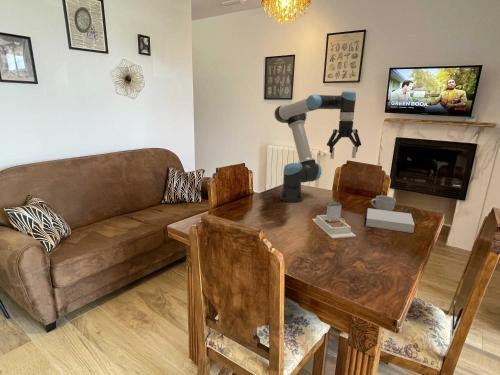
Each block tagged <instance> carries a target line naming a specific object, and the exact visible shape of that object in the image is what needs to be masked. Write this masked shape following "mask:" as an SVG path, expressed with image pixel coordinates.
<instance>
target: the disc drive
mask: <svg viewBox="0 0 500 375" xmlns="http://www.w3.org/2000/svg"><path fill="white" fill-rule="evenodd" d="M364 227H370V228H371V227H372V228H375V229H382V230H383V229H385V230H391V231H397V232H398V231H399V232H404V233H411V234H414V230H415V222H414V219H413V216H412V213H408V212H400V211H394V210H392V211H386V210H378V209H377V208H369V207H366V209H365V217H364Z"/></svg>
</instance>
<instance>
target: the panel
mask: <svg viewBox="0 0 500 375" xmlns="http://www.w3.org/2000/svg"><path fill="white" fill-rule="evenodd" d="M326 205H327V206H326V215H327V216H326V222H327V223H338V222H340V218H341V214H342V206H343V205H342V203H340V202H339V201H338V202H327V204H326Z"/></svg>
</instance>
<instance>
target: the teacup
mask: <svg viewBox="0 0 500 375" xmlns="http://www.w3.org/2000/svg"><path fill="white" fill-rule="evenodd" d="M374 201H375V203H374ZM396 201H397V200H396V198H395V197H392V196H388V195H381V194H380V195H376V196H375V198H372V199H371V200H370V204H371V205H372V207H374V209H378V210H386V211H394V209H395V206H396V205H395V204H396Z"/></svg>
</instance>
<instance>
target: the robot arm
mask: <svg viewBox="0 0 500 375" xmlns="http://www.w3.org/2000/svg"><path fill="white" fill-rule="evenodd" d="M356 101H357V92H356V91H353V90H352V91H351V90H344V91H342V92H341V94H339V95H330V94H329V95H328V94H327V95H325V94H324V95H323V94H310V95H308V97H307V98H304V99H301V100H299V101H296V102H292V103H290V104H282V105H279V106H277V107H276V108H275V109H274V112H273V113H274V118H275V120H276V121H277V122H279V123H281V124H287V126H288V128H290V129H291V133H292V136H293V140H294V144H295V145H294V146H295V148H296V151H297V156H298V160H299V162H291V163H290V162H289V163H288V164H285V166H284V167H283V172H282V173H283V182H282V189H281V192H280V195H279V199H280V200H281V201H282V200H283V202H286V201H287V203H300V202H302V201H304V194H303V191H302V183H309V182H314V181H317V180H319V179H320V177H321V176H322V167H321V165H320V164H319V163H317V161H316V159H315V158H313V157H312V155H313V154H312V152H311V149H310V144H309V140H308V137H307V132H306V128H305V123H306V120H307V116H308V114H307V113H309V112H312V111H316V110H339V111H340V112H339V122H338V129H336V128H334V129H333V130H332V134H331V135H330V137H329V140H328V141H327V142H326V146H327V147H329V153H330V156H329V157H330V159H332V160H334V158H335V147H334V146H335V145H336V144H337V143H338V142H339V141H340V140H341V139H342V138H349V140H350V142H351V143H352V145H353V146H352V151H351V152H352V154H351V158H352V159H356V158H357V157H356V155H357V153H358V149H359V147H360V146H362V142H361V139H360V135H359V132H358V129H357V128H353V127H354V119H355V109H356Z"/></svg>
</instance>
